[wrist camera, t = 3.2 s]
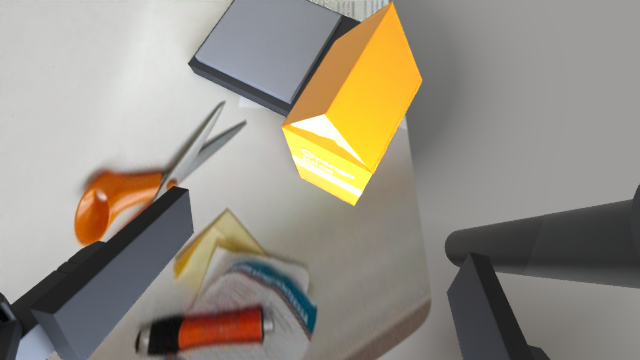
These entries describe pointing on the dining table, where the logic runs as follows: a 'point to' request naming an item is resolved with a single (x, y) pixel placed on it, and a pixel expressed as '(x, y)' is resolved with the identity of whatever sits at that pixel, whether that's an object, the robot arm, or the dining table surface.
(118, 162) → the dining table surface
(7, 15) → the dining table surface
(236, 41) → the scale
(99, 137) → the dining table surface
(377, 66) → the orange juice
